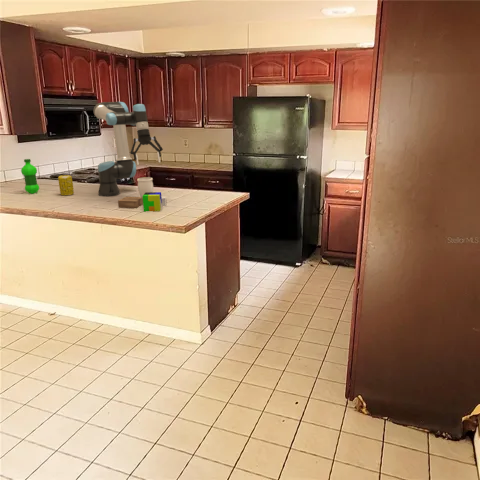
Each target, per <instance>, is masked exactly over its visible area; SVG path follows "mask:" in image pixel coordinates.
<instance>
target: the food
mask: <svg viewBox="0 0 480 480" xmlns="http://www.w3.org/2000/svg"><path fill="white" fill-rule="evenodd" d="M57 180H58V186H59V187H58V188H59V192H60V195H61V196H72V195H74V194H75V192H74V190H75V189H74V181H73V176H71V175H68V174H66V175H59V176H58V177H57Z"/></svg>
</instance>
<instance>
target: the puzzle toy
mask: <svg viewBox="0 0 480 480" xmlns="http://www.w3.org/2000/svg"><path fill="white" fill-rule="evenodd" d="M162 197H163V196H162V191H161V192H160V191H158V192H157V191H155V192H154V191H153V192H145V194H144V195H143V205H142V206H143V212H145V213H146V211H153V212H161V211H160V210H162V208H163V206H162Z"/></svg>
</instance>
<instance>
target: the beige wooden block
mask: <svg viewBox="0 0 480 480" xmlns="http://www.w3.org/2000/svg"><path fill="white" fill-rule="evenodd" d="M161 197H162V207H163V206H164V207H165V206H166V205H167V196H161Z"/></svg>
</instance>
